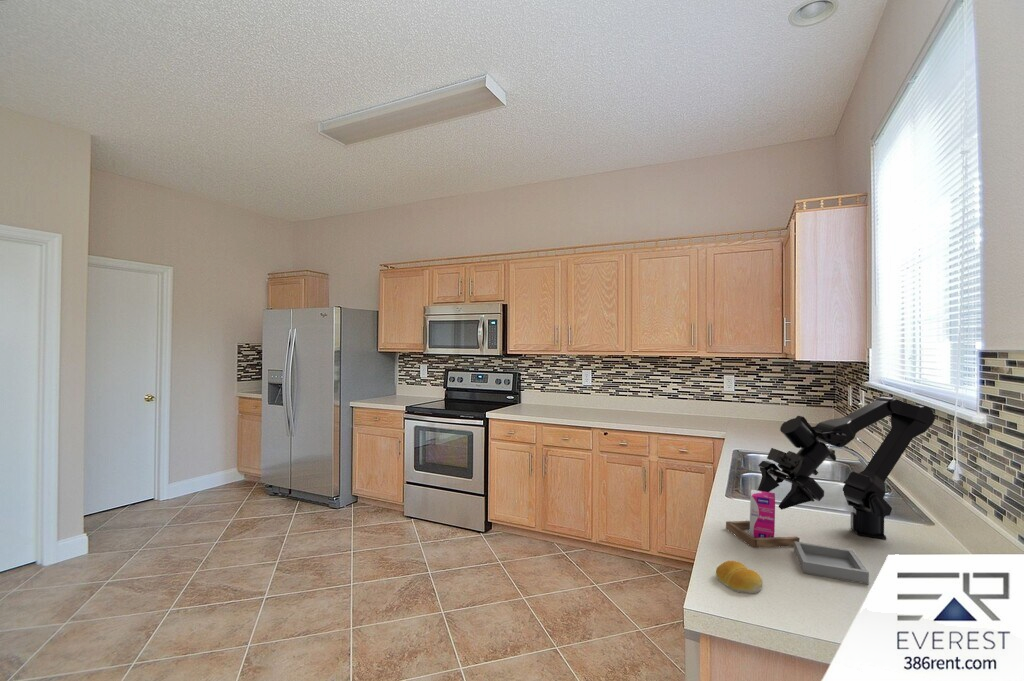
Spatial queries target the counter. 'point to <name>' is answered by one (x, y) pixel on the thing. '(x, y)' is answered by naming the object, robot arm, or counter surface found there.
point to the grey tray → (830, 562)
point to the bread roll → (739, 577)
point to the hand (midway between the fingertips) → (768, 502)
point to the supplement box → (762, 514)
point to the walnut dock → (738, 528)
